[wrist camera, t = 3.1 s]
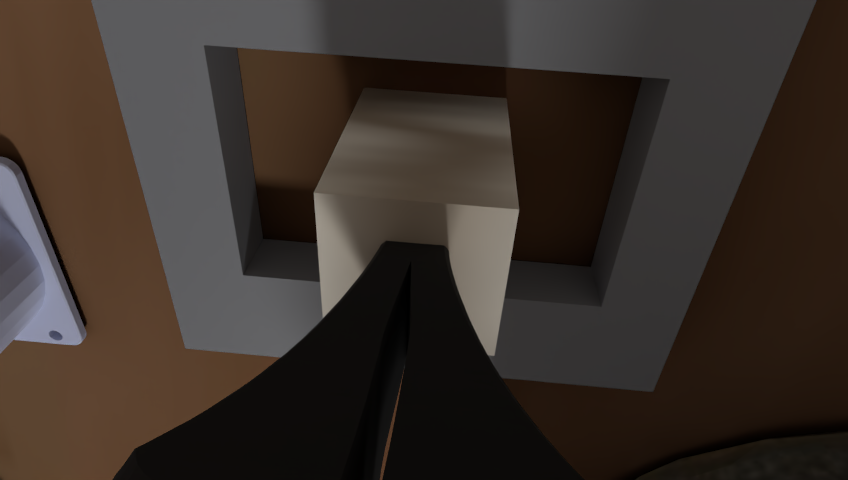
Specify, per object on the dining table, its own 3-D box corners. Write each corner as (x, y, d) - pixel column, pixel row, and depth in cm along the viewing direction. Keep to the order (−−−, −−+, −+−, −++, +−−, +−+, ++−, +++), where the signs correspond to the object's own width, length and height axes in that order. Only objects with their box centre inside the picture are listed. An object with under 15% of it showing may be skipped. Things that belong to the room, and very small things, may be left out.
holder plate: (208, 309, 21) (185, 348, 20) (106, -139, 13) (54, -138, 12) (639, 348, 21) (652, 392, 19) (805, -97, 13) (853, -89, 11)
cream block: (365, 207, 18) (324, 340, 13) (364, 86, 16) (313, 192, 11) (490, 218, 18) (494, 356, 13) (506, 97, 16) (519, 209, 11)
